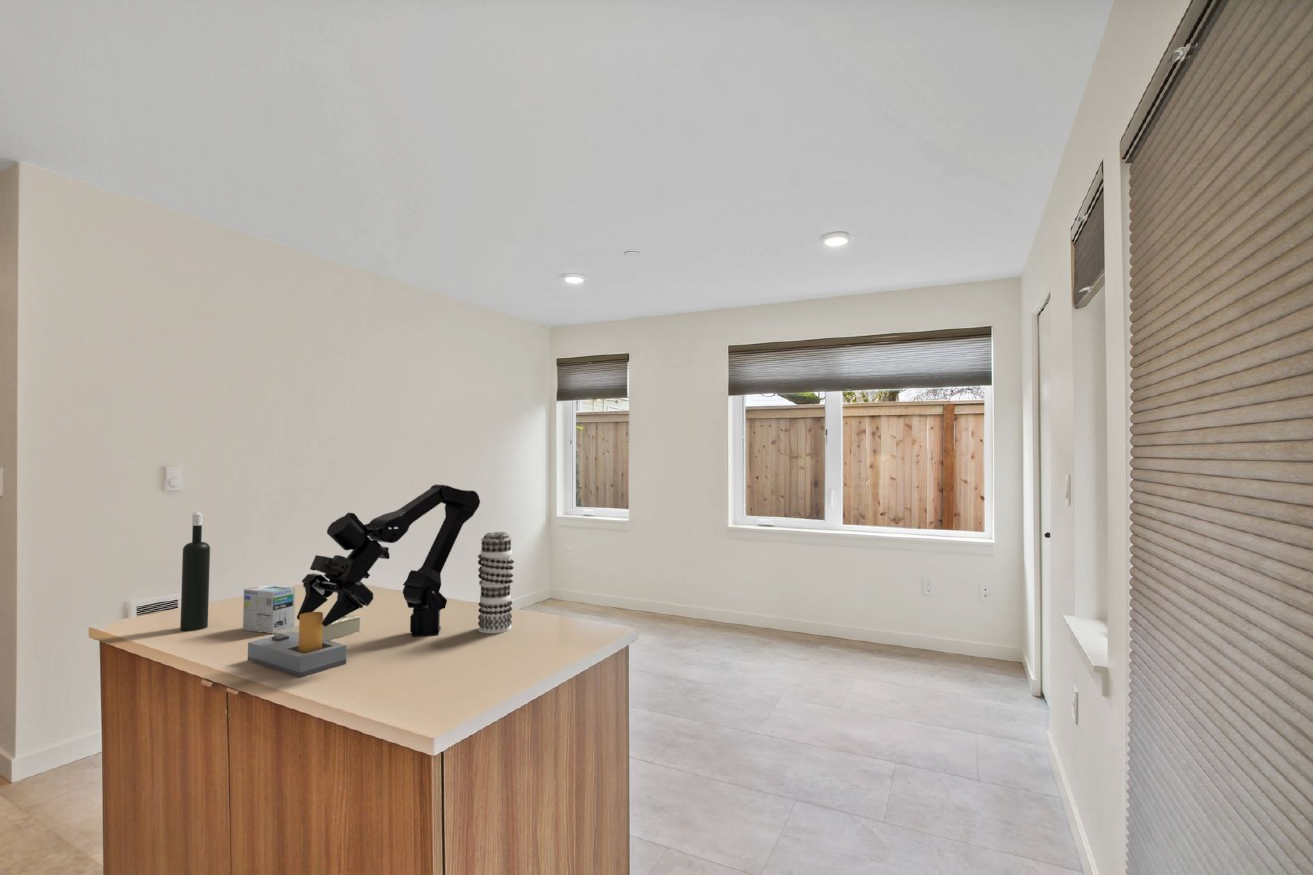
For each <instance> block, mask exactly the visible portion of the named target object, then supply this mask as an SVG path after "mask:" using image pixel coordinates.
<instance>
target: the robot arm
mask: <svg viewBox="0 0 1313 875" xmlns="http://www.w3.org/2000/svg"><path fill="white" fill-rule="evenodd" d="M440 504H444V513H445V518H444V520H443V522H442V524H441V526H440V528H439V530H438V532H437V535H436V536H435V539H434V541H433V543H432V545H431V547H430V549H429V551H428V554H426V558H425V560H424V561H423V564H422V565H421V567H420V568H418V570H414V569H411V570H410V571H409V573H408V576H407V578H406V580H405V582H404V583H403V584H402V585H403V589H402V594H403V598H404V600H405V601H406V604H407V607H408V608H410V609H411V608H412V613H411V615H410V617H409V618H410V620H409V623H410V624H409V632H411V634H410V635H411V637H416V636H417V637H420V636H421V637H422V636H436V635H439V634H440V630H441V629H442V626H441V625H440V622H441V610H445V609H446V605H447V603H448V599H447V598H446V597H445V596H444V595H443V594H442V593H441V592H440V591H441V590H440V589H441V587H442V578H441V573H442V571H443V569H444V567H445V565H446V562H447V559H448V558H449V556H450V553H451V552H452V549H453V547H454V545H455V543H456V540H457V538H458V536H459V534H460V532H461V530H462V527H463V526H464V524H465V523H467V521H469V520H470V519H471V518H472V517H474V515H475V513H476V512H477V510H478V508H479V506H480V505H481V500H480V496H479V494H478V492H477V491H476V490H467V489H465V490H464V489H459V488H455V487H453V486H450V485H448V484H433V485H431V486H430V488H429V489H427V490H426V491H424V492H422V493H421V494H420V495H417V497H415V498H414V499H412V500H411V501H410V502H408V503H406V504H405V505H403V506H402V507H400V508H399V509H397V510H394V511H391V512H387V513H384V514H381V515H379V516H377V517H375V518H373V519H371V521H369V523H365V524H364V523H363V522H362V521H361V520H360V519H359V518H358V516H357V515H356V514H355V513H354V512H347V513H346V514H345V515H343V516H341V517H339V518H337V519H336V520H335V521H332V522H331V524H329V526H328V528H327V530H326V534H327V535H328V536H329V537H330V538H331V539H332V540H333V541H334V542H335V543H336V544H337V545H339V546H340V548H341V549H343V550H344V551H351V552H350V553H349V554H348V555H347V556H343V555H338V554H335V555H334V556H333V557H330V556H329V557H328V556H323V555H317V554H316V555H315V556H314V558H313V561H312V564H311V565H310V568H309V570H311V571H317V572H320V573H323V574H324V575H322V574H318V573H313V572H312V573H307V574H306V575H305V576H304V578H303V579H302V580H301V583H302V587H303V588H304V590H305V595H304V598H303V601H302V603H301V606H300V608H299V611H298V612H297V616H296V619H297V620H298V621H299V615H300V614H303V613H308V612H315V611H316V610H317V609H319V608H320V607H322V605H323V604H325V603H326V602H327V601H328V598H329V597H331V596H332V595H333V593H336V594H337V595H336V596H337V598H336V601H335V602H334V603H333V606H332V607H331V608H330V609H329V611H328V613H327V614H326V616H324V617H325V619H324V620H323V622H322V625H323V626H325V627H326V626H328V625H330V624H331V623H333V622H335V621H337V620H338V619H340V618H342V617H344V616H345V615H347V614H351V613H353V612H355V611H357V610H359V609H363V607H364V606H365V607H369V605H370V604H371V603H372V601H374V592H373V591H372V590H371V589H370V588H368V587H367V585H365V584H364V583H363V582H362V581H363V579H366V580H368V579H369V577H370V576H371V574H370V573H369V571H370V570H371V569H372V568H373V567H374V565H375V563H376V562H377V561H378V560H379V559H382V560H383V559H385V560H389V559H390V552H389V547H387V546H382V544H380V543H385V544H386V543H388V544H394V543H396V542H398V541H399V540H401V539H402V537H403V536H404V535H406V534H407V533H408V531H409V528H410V526H411V525H412V524H413V523H414V522H416V521H418V520H419V519H420V518H421V517H423V516H424V515H426V514H427V513H429V512H430V511H431V510H433V509H434V508H436V507H438V506H439V505H440ZM379 542H380V543H379Z"/></svg>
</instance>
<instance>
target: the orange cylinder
mask: <svg viewBox="0 0 1313 875" xmlns="http://www.w3.org/2000/svg"><path fill="white" fill-rule="evenodd" d="M323 614H324V613H323V612H322V611H313V612H308V613H303V614H300V615H299V620H298V621H299V622H298V625H299V652H300V653H303V654H305V653H309V652H313V651H317V650H320V649H322V628H323V625H322V622H323V616H324V615H323Z"/></svg>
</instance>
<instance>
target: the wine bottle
mask: <svg viewBox="0 0 1313 875" xmlns="http://www.w3.org/2000/svg"><path fill="white" fill-rule="evenodd" d="M203 514H204V512H203V511H196V512H194V511H193V512H192V521H191V525H192V529H191V530H192V531H191V532H192V538H191V542H188V543H186V544H185V545H184V546H183V547H182V559H181V560H182V562H181V563H182V565H181V566H182V567H181V569H182V570H181V593H180V594H181V596H180V623H179V624H180V629H179V630H180V631H182V632H192V631H193V632H194V631H200V630H204V629H206V628H208V626H209V602H210V600H209V599H210V598H209V596H210V593H209V591H210V560H211V559H210V558H211V546H210V545H209V543H208V542H206V541H202V537H203V536H202V535H203V534H202V531H203V528H202V527H203V518H204V517H203Z"/></svg>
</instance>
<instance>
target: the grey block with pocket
mask: <svg viewBox="0 0 1313 875" xmlns="http://www.w3.org/2000/svg"><path fill="white" fill-rule="evenodd" d="M247 661H248V662H250V661H251V662H250V663H253V664H257V665H260V666H263V667H266V668H269V669H272V670H276V671H278V670H279V671H278V672H282V673H285V674H288V675H291V674H292V675H291V676H294V677H298V678H303V677H306V676H309V674H310V675H314V674H316V673H319V672H323V670H324V671H326V670H329V669H334V668H336V667H340V666H342V665H346V664H347V644H343V643H339V642H335V641H331V640H324V639H322V649H320V650H317V651H313V652H309V653H305V654H303V653H300V652H299V633H297V632H290V633H286V634H281V635H277V636H274V635H273V636H269V637H265V638H261V639H257V640H253V641H248V642H247Z"/></svg>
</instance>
